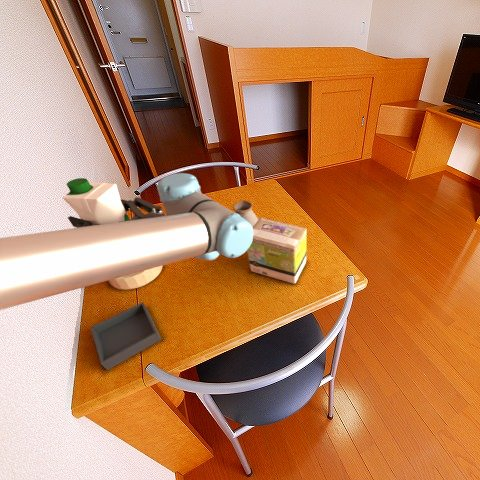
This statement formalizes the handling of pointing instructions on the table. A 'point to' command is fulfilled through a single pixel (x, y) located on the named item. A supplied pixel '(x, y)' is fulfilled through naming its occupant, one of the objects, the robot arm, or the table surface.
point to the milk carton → (95, 201)
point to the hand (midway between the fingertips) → (90, 210)
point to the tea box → (278, 250)
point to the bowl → (136, 279)
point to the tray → (124, 335)
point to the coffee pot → (245, 211)
